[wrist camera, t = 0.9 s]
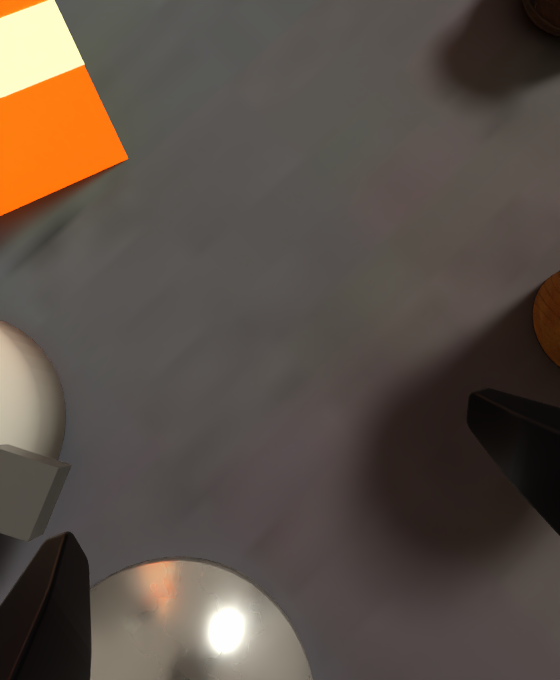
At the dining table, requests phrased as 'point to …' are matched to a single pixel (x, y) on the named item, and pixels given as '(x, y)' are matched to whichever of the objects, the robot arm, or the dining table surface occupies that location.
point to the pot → (29, 435)
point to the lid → (190, 625)
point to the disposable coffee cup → (548, 317)
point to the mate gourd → (544, 14)
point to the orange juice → (46, 107)
